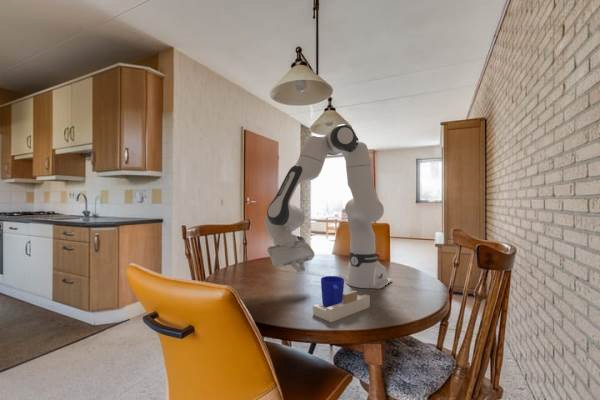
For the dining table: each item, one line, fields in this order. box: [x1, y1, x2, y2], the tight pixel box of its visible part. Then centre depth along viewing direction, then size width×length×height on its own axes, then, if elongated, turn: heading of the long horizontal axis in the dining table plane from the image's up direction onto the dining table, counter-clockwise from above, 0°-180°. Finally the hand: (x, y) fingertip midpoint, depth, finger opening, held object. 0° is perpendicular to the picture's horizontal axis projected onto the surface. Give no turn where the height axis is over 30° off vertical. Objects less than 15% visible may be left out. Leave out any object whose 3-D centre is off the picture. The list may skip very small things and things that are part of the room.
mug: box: [320, 275, 345, 308], centre depth 101 cm, size 8×12×10 cm
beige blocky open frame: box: [312, 290, 371, 323], centre depth 100 cm, size 20×8×7 cm, turn 131°
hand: (301, 271), depth 117 cm, fingers closed
